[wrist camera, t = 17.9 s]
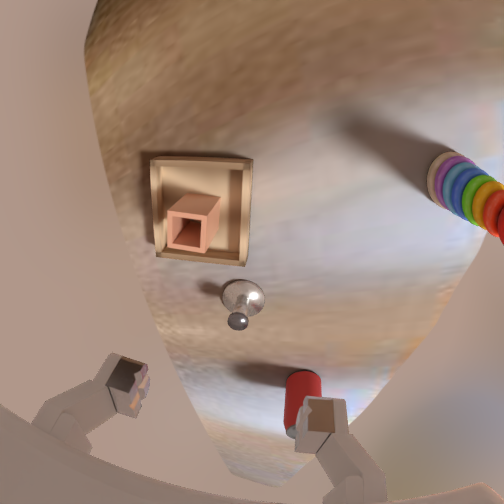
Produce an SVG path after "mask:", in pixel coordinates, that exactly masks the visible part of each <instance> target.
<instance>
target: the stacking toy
mask: <svg viewBox="0 0 504 504" xmlns="http://www.w3.org/2000/svg"><path fill="white" fill-rule="evenodd" d="M427 188H428V192H429V194H430V196H431V198H432V200H433V201H434V202H435V203H436V204H437V205H438V206H440V207H441V208H444V209H447V210H449V211H451V212H452V213H453V214H455V215H456V216H459V217H461V218H462V219H464V220H467V221H469V222H471V223H472V224H474V225H476V226H480V227H481V228H483V229H485V230H487V231H488V232H489V233H490V234H492V235H493V236H495V237H500V240H501V242H502V243H503V244H504V185H503V184H501V183H500V182H497V181H496V180H495V179H494V178H492V177H491V176H489V175H488V174H487V173H486V172H485V171H483V170H481V169H480V168H479V167H478V166H476V165H475V163H474V162H473V161H471V160H470V159H468V158H466V157H465V156H463V155H462V154H459V153H457V152H446V153H443V154H441V155H440V156H438V157H437V158H436V159H435V160H434V161H433V163H432V164H431V166H430V168H429V171H428V175H427Z"/></svg>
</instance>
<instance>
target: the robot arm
mask: <svg viewBox="0 0 504 504" xmlns="http://www.w3.org/2000/svg"><path fill="white" fill-rule="evenodd" d="M147 371H148V366H147V364H145V363H142V362H139V361H136V360H133V359H130V358H127V357H124V356H121V355H118V354H115V353H111V354H110V355H108V357H107V359H106V360H105V362H104V363H103V365H102V367H101V368H100V370H99V371H98V373H97V375H96V376H95V378H94V380H93V381H92V380H88V381H86V382H84V383H82V384H80V385H78V386H76V387H74V388H72V389H70V390H68V391H66V392H64V393H62V394H59V395H57V396H55V397H53V398H51V399H49V400H47V401H45V403H44V404H43V406H42V407H41V409H40V410H39V412H38V414H37V415H36V417H35V418H34V420H33V421H32V423H31V424H30V423H29V422H27V421H25V420H24V419H22V418H21V417H19V416H17V415H16V414H14V413H13V412H11V411H10V410H8V409H7V408H5V407H4V406H3V405H1V404H0V504H282V503H270V502H261V501H253V500H246V499H239V498H233V497H227V496H221V495H216V494H211V493H206V492H201V491H197V490H193V489H188V488H185V487H181V486H177V485H173V484H170V483H166V482H163V481H159V480H156V479H152V478H150V477H146V476H143V475H140V474H137V473H135V472H132V471H129V470H126V469H123V468H121V467H118V466H116V465H113V464H111V463H108V462H106V461H103V460H101V459H99V458H96V457H94V456H92V455H89V454H90V451H91V449H92V445H91V444H90V442H89V440H88V439H87V437H86V434H88V433H89V432H91V431H92V430H94V429H95V428H97V427H98V426H100V425H101V424H103V423H104V422H106V421H107V420H108V419H110V418H111V417H113V416H114V415H116V414H117V413H120V414H123V415H126V416H129V417H133V418H137V416H138V413H139V411H140V409H141V407H142V405H141V401H140V400H142V399H144V398H145V397H146V395H147V393H148V390H149V386H150V378H149V376H148V375H147ZM296 430H297V431H298V434H297V436H296V438H295V452H299V453H309V454H316V457H317V458H318V460H319V462H320V464H321V465H322V467H323V469H324V470H325V472H326V474H327V475H328V477H329V479H330V480H331V482H332V484H333V485H334V487H335V488H334V489H333V490H331V491H330V492H329V493H328V494H326V495H325V496H324V497H323V504H504V499H503V498H502V497H501V496H500V495H498V494H497V493H496V492H495V491H494V490H493V489H492V488H491V487H489V486H488V485H486V484H485V483H477V484H472V485H469V486H466V487H462V488H458V489H455V490H451V491H446V492H442V493H437V494H432V495H427V496H422V497H416V498H411V499H404V500H397V501H389V502H387V491H386V481H385V474H384V472H383V471H382V470H381V469H380V467H379V466H378V465H377V464H376V463H375V462H374V460H373V459H372V458H371V457H370V455H369V454H368V453H367V452H366V450H365V449H364V448H363V447H362V446H361V444H360V443H359V442H358V441H357V439H356V438H355V437H354V436H353V434H349V431H348V420H347V410H346V401H345V400H344V399H335V398H327V397H315V396H306V397H305V398H304V400H303V406H302V407H300V409H299V411H298V415H297V419H296Z"/></svg>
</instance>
